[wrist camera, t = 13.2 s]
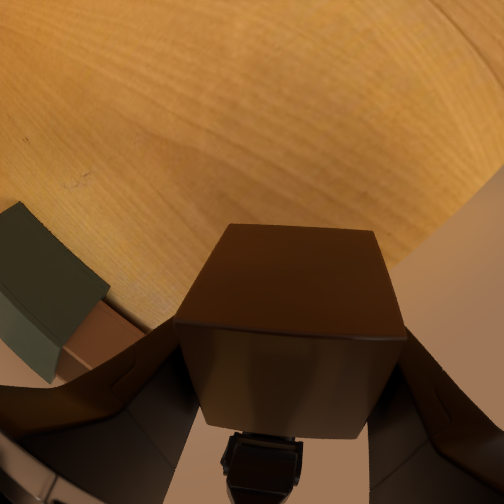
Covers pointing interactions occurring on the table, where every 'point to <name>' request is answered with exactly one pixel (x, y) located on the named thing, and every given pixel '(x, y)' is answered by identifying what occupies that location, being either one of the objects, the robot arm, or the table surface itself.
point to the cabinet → (41, 291)
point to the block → (291, 331)
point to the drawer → (95, 342)
